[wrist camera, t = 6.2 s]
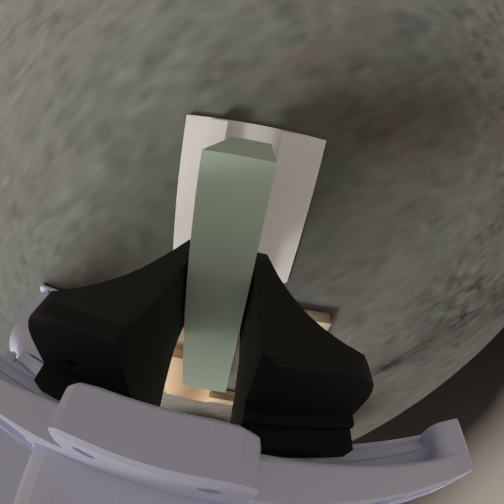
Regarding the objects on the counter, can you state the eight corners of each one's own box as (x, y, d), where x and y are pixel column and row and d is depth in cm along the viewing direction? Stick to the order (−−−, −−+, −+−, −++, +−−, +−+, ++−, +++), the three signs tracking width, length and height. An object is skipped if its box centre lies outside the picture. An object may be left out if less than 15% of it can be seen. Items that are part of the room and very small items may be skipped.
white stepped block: (174, 258, 21) (166, 272, 19) (188, 114, 16) (179, 115, 14) (286, 279, 22) (287, 295, 20) (324, 139, 16) (332, 143, 15)
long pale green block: (207, 297, 18) (182, 384, 11) (232, 136, 13) (201, 149, 7) (238, 303, 18) (225, 392, 11) (271, 144, 13) (277, 162, 7)
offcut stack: (173, 374, 30) (165, 400, 26) (172, 299, 24) (159, 328, 20) (214, 382, 30) (209, 409, 26) (226, 310, 24) (220, 341, 21)
